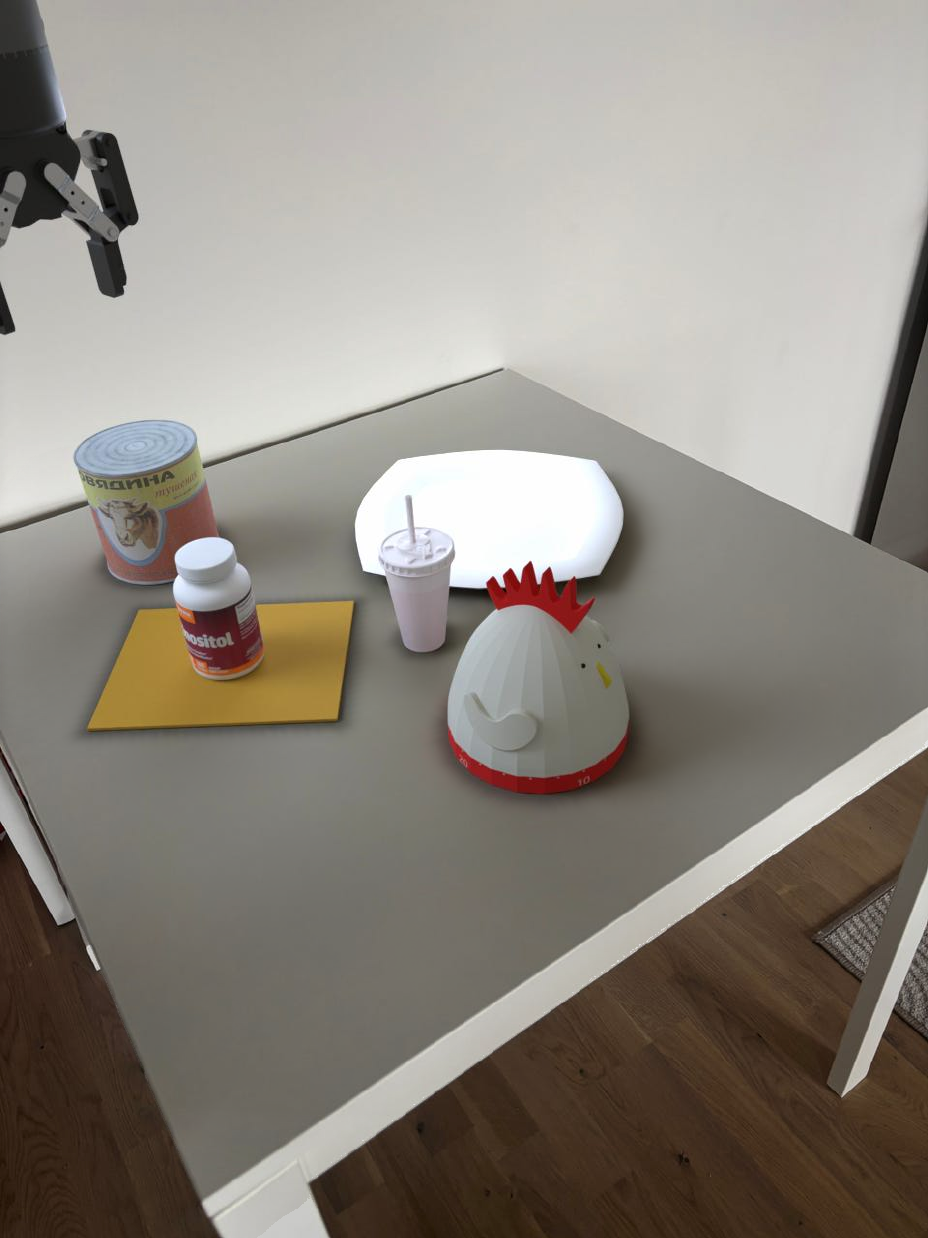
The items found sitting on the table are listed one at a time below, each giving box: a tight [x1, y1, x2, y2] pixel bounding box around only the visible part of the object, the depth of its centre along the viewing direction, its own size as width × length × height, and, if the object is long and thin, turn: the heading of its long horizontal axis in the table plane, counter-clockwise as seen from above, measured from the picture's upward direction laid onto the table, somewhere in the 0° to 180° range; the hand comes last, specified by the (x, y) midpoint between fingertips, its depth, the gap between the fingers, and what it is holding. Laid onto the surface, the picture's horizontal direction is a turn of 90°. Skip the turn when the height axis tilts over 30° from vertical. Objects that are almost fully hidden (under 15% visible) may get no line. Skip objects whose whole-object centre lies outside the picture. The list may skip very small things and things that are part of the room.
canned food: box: [72, 419, 221, 586], centre depth 95 cm, size 11×11×12 cm
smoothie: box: [378, 495, 456, 653], centre depth 81 cm, size 6×6×14 cm
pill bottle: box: [172, 537, 264, 680], centre depth 80 cm, size 6×6×11 cm
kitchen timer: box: [447, 561, 630, 795], centre depth 71 cm, size 14×14×15 cm
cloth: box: [86, 600, 355, 732], centre depth 83 cm, size 20×16×1 cm
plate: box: [354, 449, 625, 591], centre depth 99 cm, size 27×27×2 cm
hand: (60, 312), depth 67 cm, fingers open, 8 cm apart
